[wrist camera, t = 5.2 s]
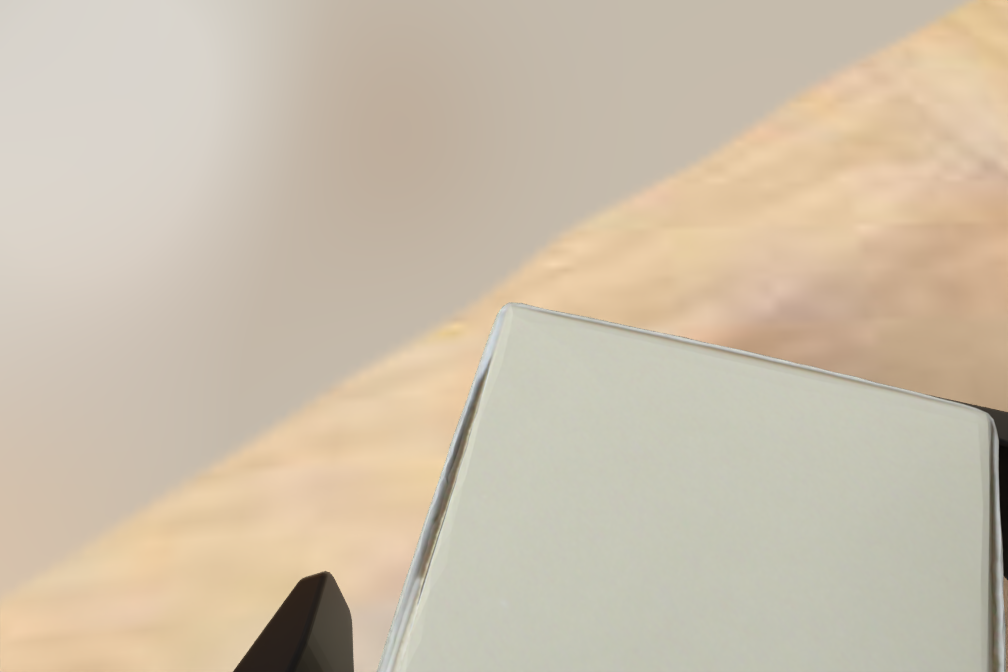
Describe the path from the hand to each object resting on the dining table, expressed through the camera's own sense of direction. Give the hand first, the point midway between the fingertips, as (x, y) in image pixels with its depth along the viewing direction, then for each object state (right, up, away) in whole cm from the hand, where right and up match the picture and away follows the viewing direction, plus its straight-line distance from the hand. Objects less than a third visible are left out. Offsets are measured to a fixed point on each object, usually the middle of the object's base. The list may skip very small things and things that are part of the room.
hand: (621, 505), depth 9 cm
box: (+1, -3, +7) cm, 7 cm away
